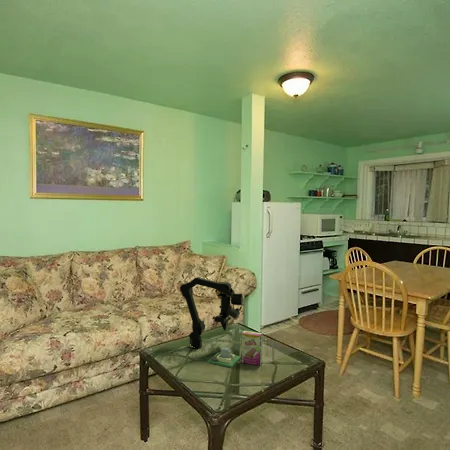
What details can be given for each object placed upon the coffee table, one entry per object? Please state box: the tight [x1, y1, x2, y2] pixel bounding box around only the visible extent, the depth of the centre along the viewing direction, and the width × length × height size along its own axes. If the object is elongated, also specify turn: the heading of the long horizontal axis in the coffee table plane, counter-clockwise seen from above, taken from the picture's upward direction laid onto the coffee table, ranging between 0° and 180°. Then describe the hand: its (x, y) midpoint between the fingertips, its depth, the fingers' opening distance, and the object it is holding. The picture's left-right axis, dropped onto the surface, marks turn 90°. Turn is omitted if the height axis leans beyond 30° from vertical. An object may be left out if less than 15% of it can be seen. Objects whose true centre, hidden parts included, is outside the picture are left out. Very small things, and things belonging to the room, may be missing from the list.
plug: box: [220, 346, 232, 359], centre depth 173 cm, size 5×4×6 cm
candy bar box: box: [240, 330, 264, 367], centre depth 172 cm, size 11×5×16 cm, turn 71°
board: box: [207, 351, 241, 369], centre depth 174 cm, size 14×13×3 cm
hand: (224, 330), depth 188 cm, fingers closed
